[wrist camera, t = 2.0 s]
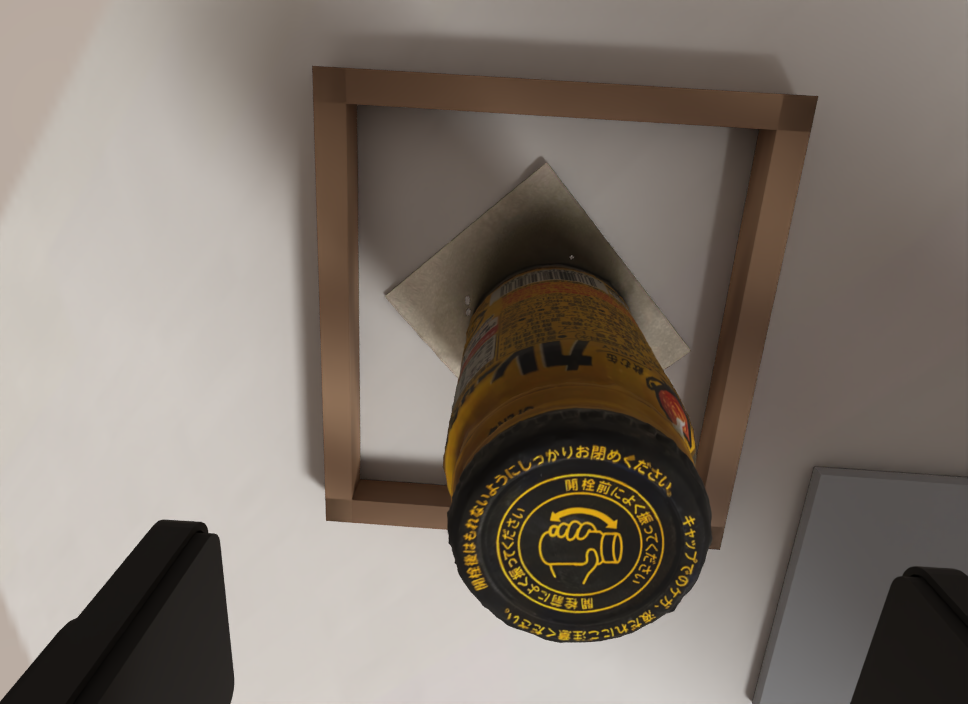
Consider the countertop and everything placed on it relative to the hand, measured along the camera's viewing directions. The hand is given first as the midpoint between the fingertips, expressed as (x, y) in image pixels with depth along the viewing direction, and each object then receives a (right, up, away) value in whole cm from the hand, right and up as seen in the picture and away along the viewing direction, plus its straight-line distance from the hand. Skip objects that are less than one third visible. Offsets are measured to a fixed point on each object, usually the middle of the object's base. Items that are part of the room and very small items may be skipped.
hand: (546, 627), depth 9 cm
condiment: (+1, +5, +15) cm, 16 cm away
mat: (+17, -7, +18) cm, 26 cm away
